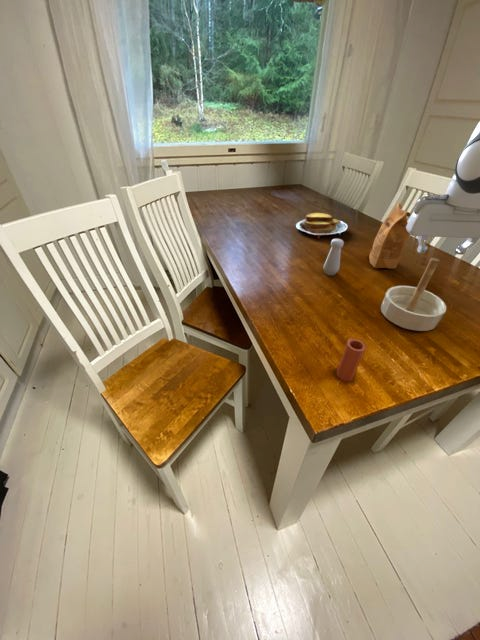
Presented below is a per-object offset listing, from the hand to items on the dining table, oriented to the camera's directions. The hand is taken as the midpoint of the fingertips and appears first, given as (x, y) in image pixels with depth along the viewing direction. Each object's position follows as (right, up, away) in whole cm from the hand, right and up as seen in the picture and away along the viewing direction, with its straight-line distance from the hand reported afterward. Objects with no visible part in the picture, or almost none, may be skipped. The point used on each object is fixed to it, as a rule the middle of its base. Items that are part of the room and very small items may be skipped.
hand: (439, 252), depth 70 cm
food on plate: (-10, +28, +68) cm, 75 cm away
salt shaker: (-17, +1, +34) cm, 38 cm away
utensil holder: (-26, -30, -5) cm, 41 cm away
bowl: (0, -16, +13) cm, 21 cm away
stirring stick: (0, -15, +13) cm, 20 cm away
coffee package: (+6, +6, +40) cm, 41 cm away
